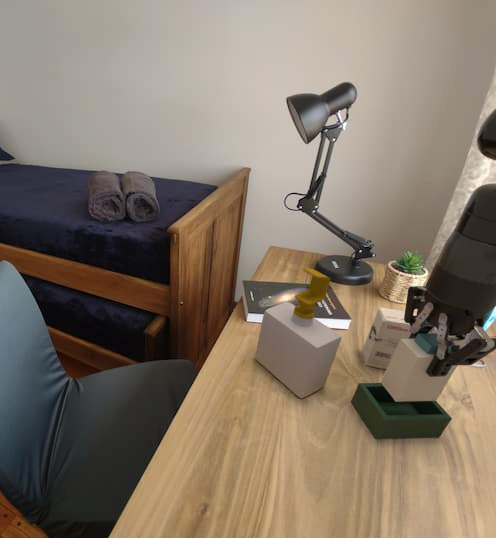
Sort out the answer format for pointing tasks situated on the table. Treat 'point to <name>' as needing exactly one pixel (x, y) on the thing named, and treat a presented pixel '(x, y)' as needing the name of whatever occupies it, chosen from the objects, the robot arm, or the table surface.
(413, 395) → the beige teal-capped bottle
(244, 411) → the table surface
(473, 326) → the robot arm
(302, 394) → the soap bottle
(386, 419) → the holder
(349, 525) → the table surface
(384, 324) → the ink box
